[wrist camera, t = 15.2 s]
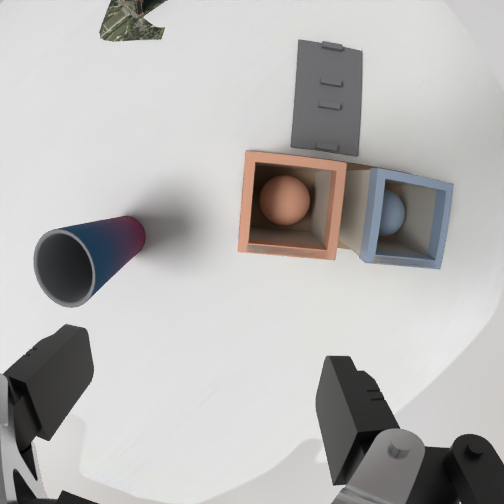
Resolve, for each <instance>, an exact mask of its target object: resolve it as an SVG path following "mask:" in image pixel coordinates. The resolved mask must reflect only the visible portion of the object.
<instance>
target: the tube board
mask: <svg viewBox="0 0 504 504" xmlns="http://www.w3.org/2000/svg"><path fill="white" fill-rule="evenodd" d="M250 152H258V151H250ZM262 153H269V152H262ZM273 154H279V153H273ZM282 155H288V154H282ZM292 156H297V155H292ZM300 157H306V156H300ZM245 158H246V155H245ZM309 158H313V157H309ZM316 159H321V158H316ZM324 160H328V159H324ZM331 161H335V160H331ZM338 162H342V161H338ZM345 163H347V166H346V171H352V170H370V168H378V167H373V166H367V165H361V164H355V163H349V162H345ZM244 169H245V166H244ZM381 169H384V168H381ZM386 170H389V169H386ZM391 171H395V170H391ZM397 172H400V171H397ZM402 173H405V172H402ZM407 174H410V173H407ZM282 175H287V176H292V177H295V178H297V179H298V180H300V181H301V182H302V183H303V184H304V185H305V187H306V188H307V190H308V193H309V197H310V204H309V208H308V211H307V213H306V214H305V216H304V217H303V218H302V219H301V220H300V221H298V222H297V223H294V224H292V225H278V224H275V223H273V222H271V221H270V220H269V219H267V218H266V216H265V215H264V214H263V212H262V210H261V207H260V202H259V199H260V193H261V190H262V188H263V187H264V185H265V184H266V183H267V182H268V181H269V180H271V179H272V178H274V177H277V176H282ZM345 179H346V177H345ZM314 180H315V172H312V171H304V170H295V169H286V168H276V167H266V166H255V172H254V184H253V195H252V207H251V218H250V226H256V227H268V228H279V229H289V230H300V231H309V227H310V218H311V210H312V200H313V191H314ZM243 181H244V178H243ZM344 189H345V187H344ZM384 189H387V190H390V191H392V192H394V193H395V194H397V195H398V196H399V197H400V199H401V194H402V185H398V184H392V183H387V182H385V187H384ZM242 193H243V190H242ZM343 198H344V196H343ZM241 205H242V202H241ZM342 207H343V205H342ZM341 216H342V213H341ZM240 217H241V214H240ZM340 224H341V221H340ZM239 229H240V226H239ZM339 231H340V229H339ZM395 238H396V232H395V233H393V234H391V235H388V236H378V239H386V240H395ZM338 239H339V237H338ZM337 248H344V249H350V248H349V247H347V246H346V245H345V244H344V243H342V242H341V241H340V240H338V244H337Z"/></svg>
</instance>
